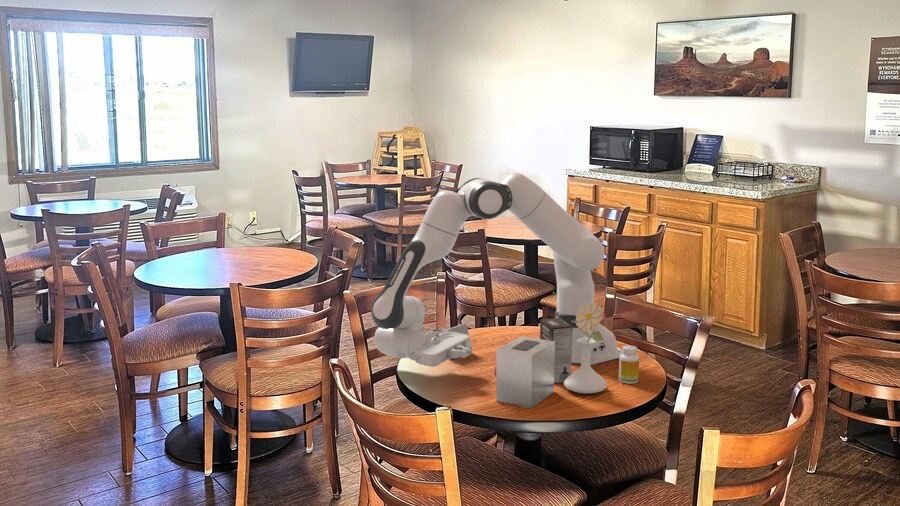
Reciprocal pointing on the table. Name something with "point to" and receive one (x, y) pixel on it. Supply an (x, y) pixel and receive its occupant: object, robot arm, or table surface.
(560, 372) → the coffee box
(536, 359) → the box
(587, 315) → the flower in vase
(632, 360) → the supplement bottle
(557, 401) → the table surface
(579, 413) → the table surface
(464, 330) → the electrical switch
